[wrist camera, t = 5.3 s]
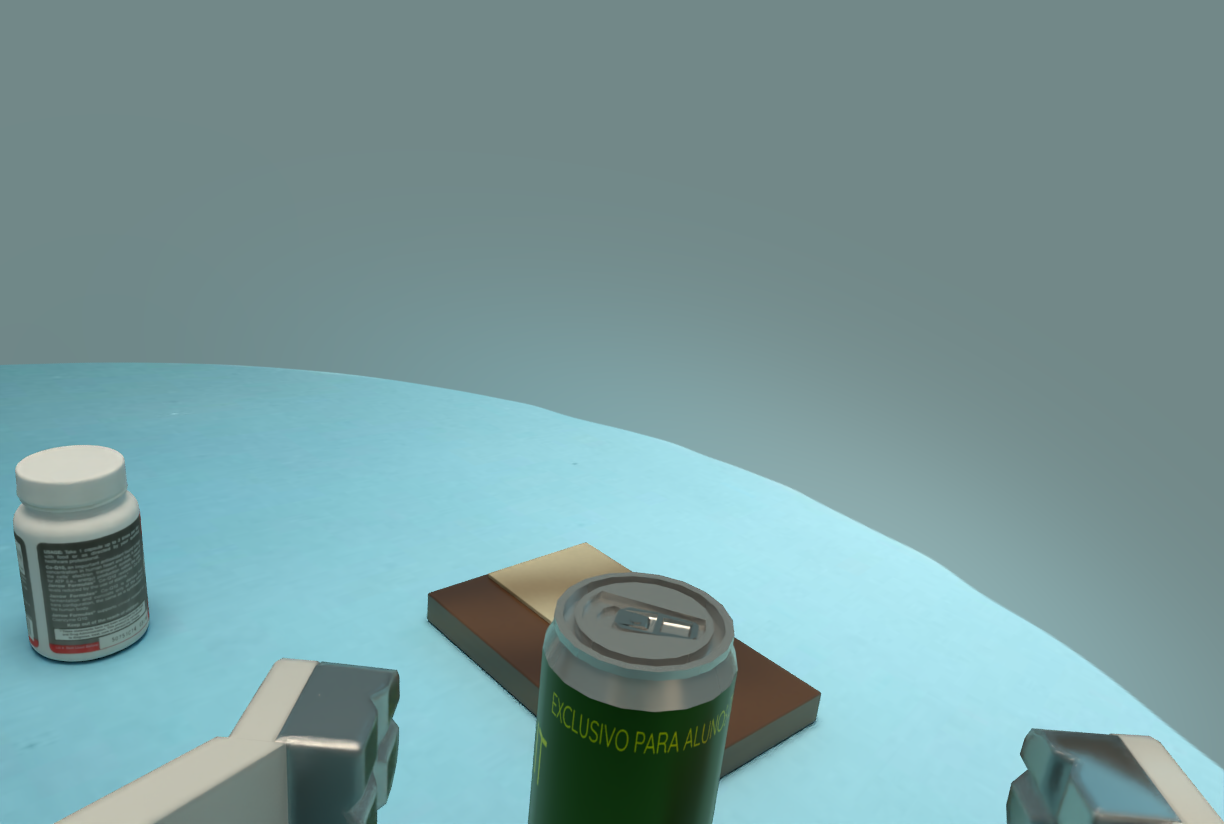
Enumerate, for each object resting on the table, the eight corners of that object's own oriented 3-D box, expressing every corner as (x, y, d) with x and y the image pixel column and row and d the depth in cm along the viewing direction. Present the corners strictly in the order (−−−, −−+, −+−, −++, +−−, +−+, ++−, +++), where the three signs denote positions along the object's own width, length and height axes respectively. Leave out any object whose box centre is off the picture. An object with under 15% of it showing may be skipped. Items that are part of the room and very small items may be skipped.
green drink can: (698, 900, 32) (750, 588, 28) (674, 1051, 27) (733, 696, 23) (544, 862, 33) (573, 554, 29) (494, 1001, 28) (519, 651, 24)
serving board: (426, 619, 46) (427, 589, 45) (584, 565, 52) (586, 538, 52) (652, 820, 35) (657, 783, 34) (816, 720, 41) (823, 688, 41)
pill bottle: (173, 620, 44) (161, 454, 41) (91, 676, 40) (71, 495, 37) (91, 595, 45) (74, 433, 42) (3, 647, 41) (-23, 470, 38)
